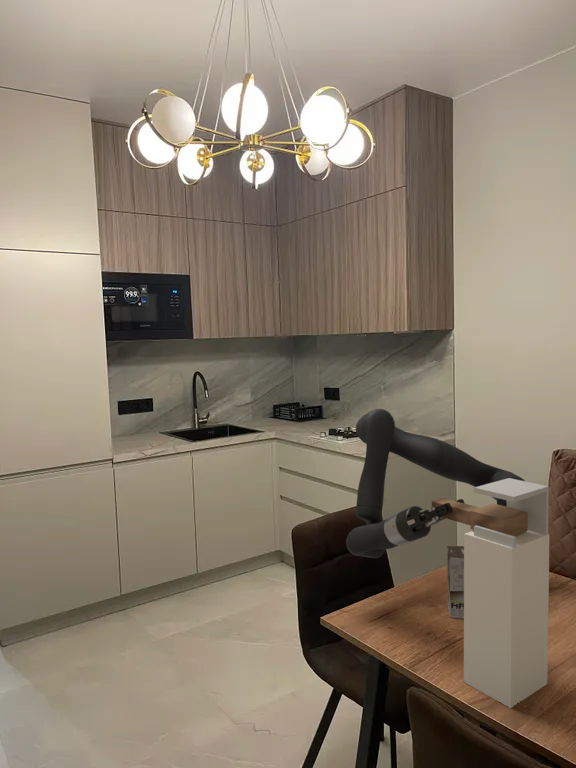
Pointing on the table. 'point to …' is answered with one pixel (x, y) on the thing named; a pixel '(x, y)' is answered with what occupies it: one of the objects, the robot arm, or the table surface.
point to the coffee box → (455, 581)
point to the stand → (508, 598)
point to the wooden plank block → (487, 516)
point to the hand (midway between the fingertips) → (456, 505)
